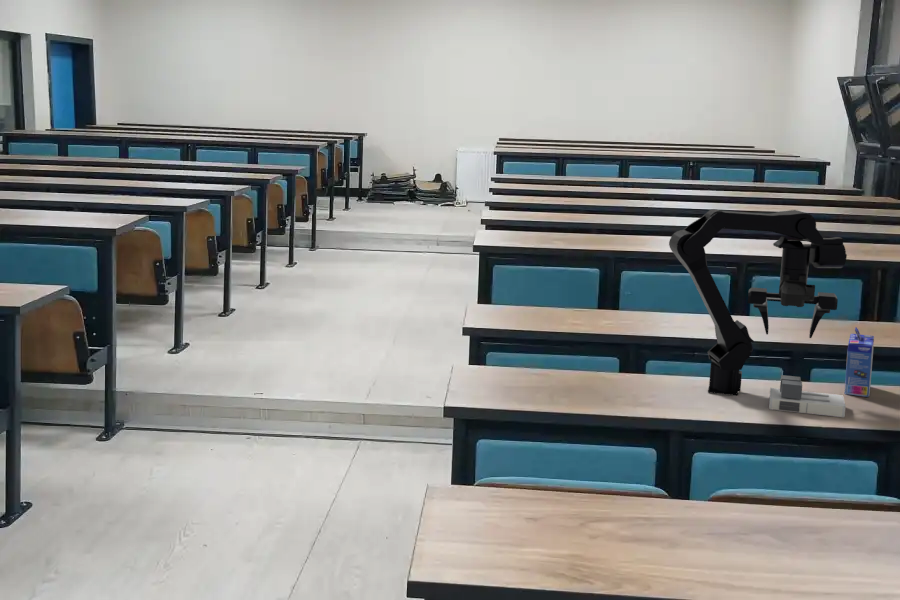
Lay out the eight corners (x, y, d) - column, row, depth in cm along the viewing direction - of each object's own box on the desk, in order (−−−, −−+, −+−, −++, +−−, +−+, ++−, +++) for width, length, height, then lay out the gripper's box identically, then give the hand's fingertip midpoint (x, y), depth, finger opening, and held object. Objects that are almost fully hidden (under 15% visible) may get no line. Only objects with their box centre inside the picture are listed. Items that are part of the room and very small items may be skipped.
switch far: (779, 392, 206) (781, 378, 206) (779, 388, 209) (781, 375, 209) (799, 394, 205) (800, 380, 205) (799, 390, 208) (800, 376, 207)
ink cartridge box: (844, 383, 224) (851, 323, 221) (870, 386, 221) (877, 325, 218) (842, 394, 215) (849, 332, 212) (869, 397, 213) (876, 335, 210)
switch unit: (769, 409, 203) (770, 398, 203) (769, 398, 211) (770, 387, 210) (844, 418, 199) (845, 406, 198) (841, 406, 206) (843, 394, 206)
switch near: (781, 397, 203) (782, 383, 202) (781, 393, 206) (782, 379, 205) (801, 399, 202) (802, 385, 201) (800, 395, 204) (802, 381, 204)
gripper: (749, 270, 206) (744, 340, 209) (842, 276, 200) (835, 348, 203) (751, 262, 216) (745, 329, 220) (838, 268, 211) (832, 336, 214)
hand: (788, 335), depth 214 cm, fingers open, 9 cm apart
